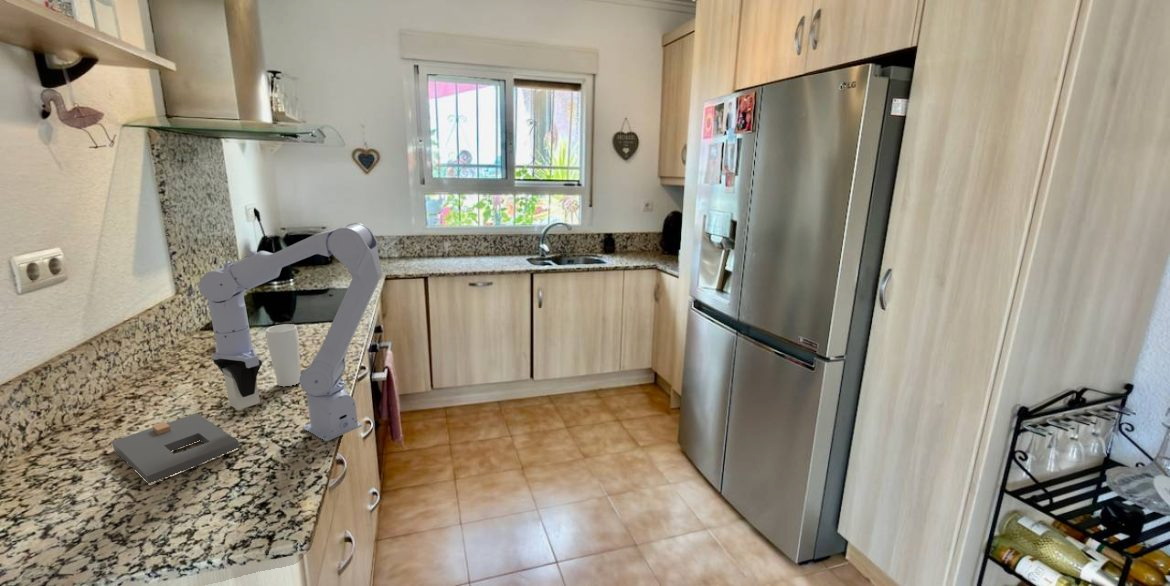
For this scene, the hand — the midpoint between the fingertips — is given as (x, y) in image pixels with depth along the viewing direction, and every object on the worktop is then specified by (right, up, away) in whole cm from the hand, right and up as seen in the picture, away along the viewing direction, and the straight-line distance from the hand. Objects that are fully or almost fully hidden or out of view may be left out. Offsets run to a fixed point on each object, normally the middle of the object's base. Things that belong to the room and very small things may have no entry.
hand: (243, 392), depth 101 cm
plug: (0, -2, +1) cm, 3 cm away
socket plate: (-10, -11, -4) cm, 15 cm away
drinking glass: (-6, -3, +26) cm, 27 cm away
